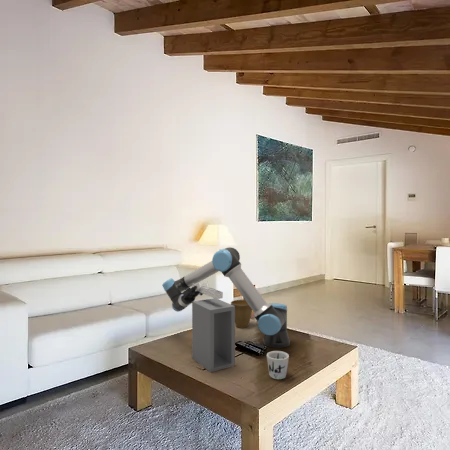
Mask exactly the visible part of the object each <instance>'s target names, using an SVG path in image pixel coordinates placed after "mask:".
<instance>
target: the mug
mask: <svg viewBox="0 0 450 450" xmlns="http://www.w3.org/2000/svg"><path fill="white" fill-rule="evenodd" d="M289 355H290V354H289V353H287V352H285V351H281V350H272V351H269V352H267V353H266V361H267V369H268V374H269V377H270V378H272V379H275V380H282V379H285V378H286V377H287V372H288V366H289V359H290V356H289Z"/></svg>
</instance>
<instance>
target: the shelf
mask: <svg viewBox="0 0 450 450" xmlns="http://www.w3.org/2000/svg"><path fill="white" fill-rule="evenodd" d="M191 313H192V314H191V315H192V316H191V317H192V319H191V323H192V324H191V325H192V327H191V330H192V331H191V333H192V335H191V336H192V337H191V338H192V339H191V341H192V343H191V344H192V347H191V348H192V351H191V352H192V354H191V359H192V360H193V361H195V362H196V363H198V364H199V366H201V367H202V368H204V369H205V370H206V371H208V372H209V373H212V372H216V371H220V370H223V369H228V368H232V367H235V366H236V324H235V306H233V305H231V303H230V302H229V303H228V302H226V301H224V300H221V299H215V298H213V297H212V298H209V299H202V300H194V301H193V302H192V303H191Z"/></svg>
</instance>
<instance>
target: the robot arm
mask: <svg viewBox="0 0 450 450" xmlns="http://www.w3.org/2000/svg"><path fill="white" fill-rule="evenodd" d="M240 260H241V254H240V252H239V251H238V250H237V249H236V248H234V247H230V246H228V247H226V248H222V249H219V250H217V251H216V252H215V253H214V254H213V256H212V260H211V261H209V262H207V263H205V264H204V265H202V266H200V267H199V268H196V269H195V270H194V271H192V272H190V273H188V274H186V275H184V276H183V277H181V278H179V279H177V280H174V279H173V278H169V279H167V280H166V281H165V282H163V284H162V288H163V290H164V291H165V293H166V295H167V296H168V298H169V299H170V301H171V303H172V304H171V307H172V310H173V311H174V312H182V311H183V310H185V309H186V308H188V306H189V305H192V302H193V301H196V297H198V296H203V295H204V294H203V293H201V292H198V291H197V290H198V289H200V288H201V284H202V285H205V286H207V287H209V284H208V281H205V282H203V283H201V282H202V281H204V280H205V279H208V278H209V277H211V276H213V275H215V274H216V273H218V272H221V274H222V275H223V276H224V278H229V280H230V281H231V283H232V284H233V285H234V287H235V288H236V290H237V291H238V292H239V294H240V295H241V296H242V298H243V300H246V302H247V303H248V305H249V306H250V307H251V309H252V312H253V315H254V316H253V317H254V319H255V320H256V322H257V327H258V329H259V331H260V332H261V334H263V339H262V340H263V341H262V342H263V345H265V346H267V347H269V348H274V349H275V348H276V349H280V348H281V349H283V348H286V347H289V346H290V344H291V343H290V342H291V340H290V337H289V333H288V324H287V323H288V307H287V305H286V304H285V303H280V302H279V303H278V302H277V303H276V302H275V303H274V302H272V303H271V302H269V303H268V302H266V300H265V298H264V297H263V295H262V294H261V293H260V292H259V290H258V289H257V288H256V287H255V285H254V284H253V282H252V281H251V279H250V278H249V276H247V275H246V273H245V272H244V270H243V269H242V262H241V261H240ZM194 283H198V284H196V285H195V286H194V287H192V284H194Z"/></svg>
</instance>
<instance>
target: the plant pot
mask: <svg viewBox="0 0 450 450" xmlns="http://www.w3.org/2000/svg"><path fill="white" fill-rule="evenodd" d="M230 304H231V305H233V306H235V327H236V328H239V329H244V328H248V326H249V323H250V320H251V317H252V313H253V310H252V309H251V307H250V306H249V305H248V303H247V302H246V300H245V299H236V300H232V301H230Z"/></svg>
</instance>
